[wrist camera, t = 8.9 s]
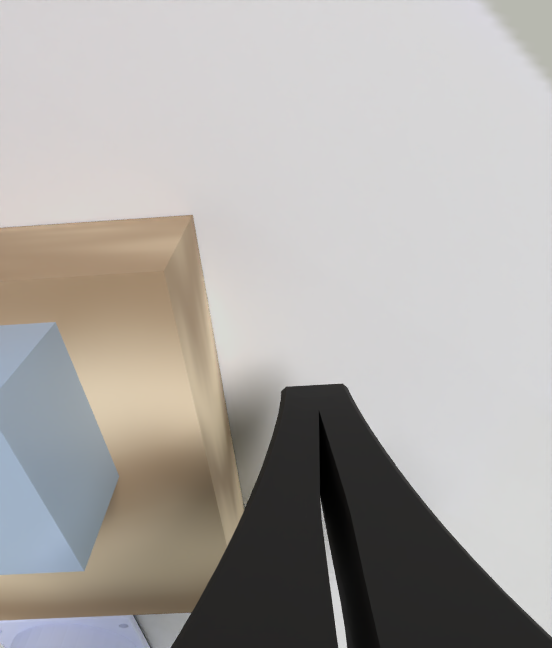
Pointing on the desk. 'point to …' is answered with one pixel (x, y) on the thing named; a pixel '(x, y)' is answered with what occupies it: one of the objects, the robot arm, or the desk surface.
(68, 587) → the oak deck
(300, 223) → the desk surface
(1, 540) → the light blue square block
